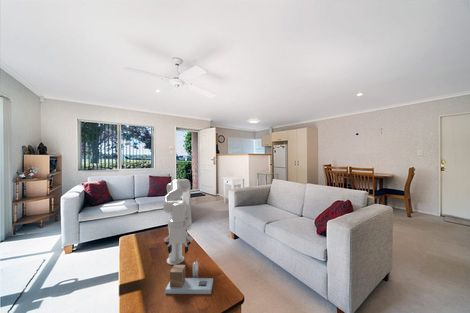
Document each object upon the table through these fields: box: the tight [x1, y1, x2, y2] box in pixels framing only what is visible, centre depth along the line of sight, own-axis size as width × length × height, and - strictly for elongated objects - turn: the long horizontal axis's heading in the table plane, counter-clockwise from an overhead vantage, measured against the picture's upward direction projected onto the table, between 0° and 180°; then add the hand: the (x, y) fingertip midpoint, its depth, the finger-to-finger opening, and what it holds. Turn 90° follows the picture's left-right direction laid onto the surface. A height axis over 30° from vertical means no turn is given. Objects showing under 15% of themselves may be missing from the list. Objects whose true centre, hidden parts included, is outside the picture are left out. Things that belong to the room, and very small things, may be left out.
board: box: [164, 277, 214, 295], centre depth 109 cm, size 10×26×8 cm, turn 90°
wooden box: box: [169, 264, 186, 287], centre depth 109 cm, size 7×7×9 cm
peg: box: [192, 260, 199, 278], centre depth 118 cm, size 3×3×10 cm
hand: (178, 252), depth 109 cm, fingers open, 9 cm apart
